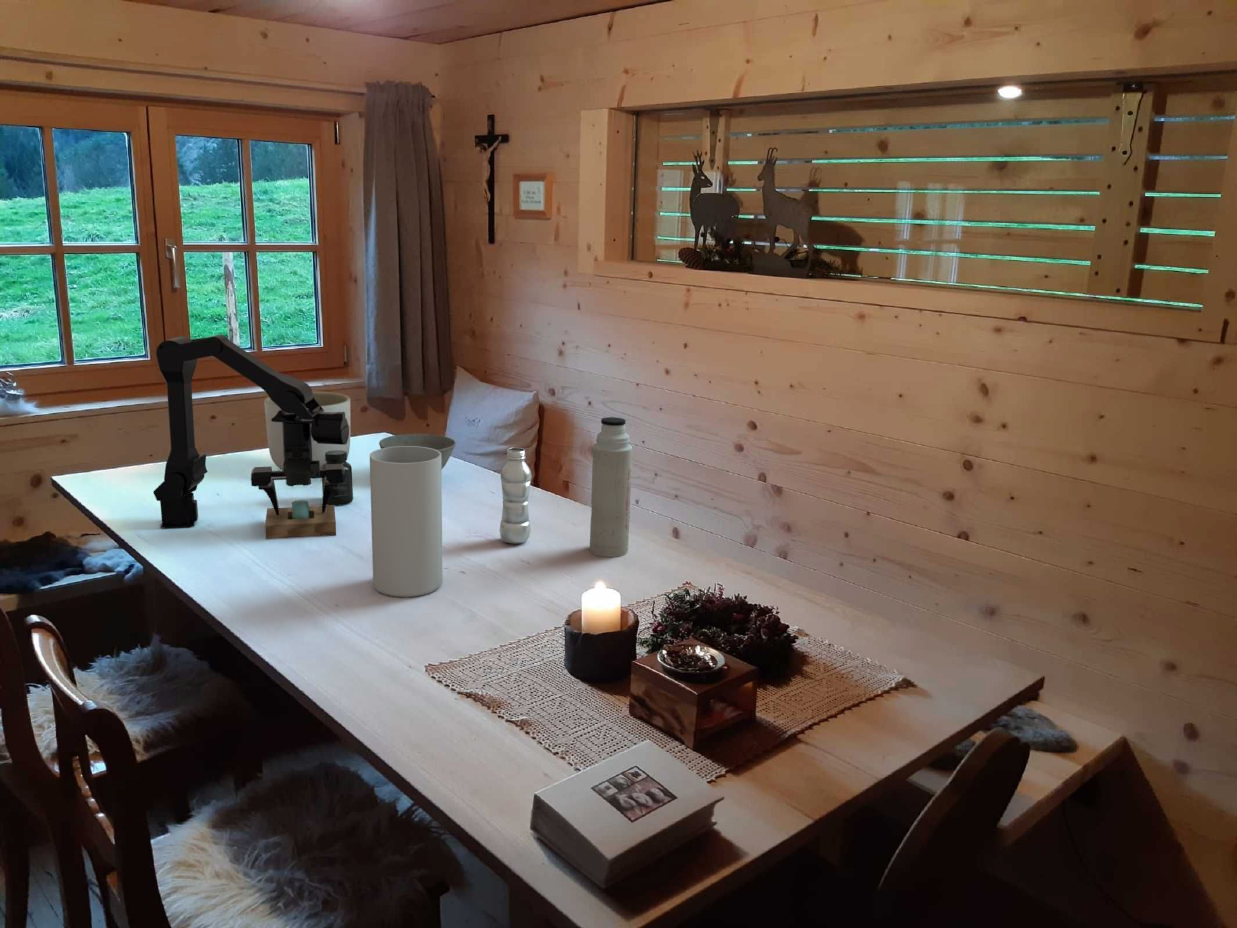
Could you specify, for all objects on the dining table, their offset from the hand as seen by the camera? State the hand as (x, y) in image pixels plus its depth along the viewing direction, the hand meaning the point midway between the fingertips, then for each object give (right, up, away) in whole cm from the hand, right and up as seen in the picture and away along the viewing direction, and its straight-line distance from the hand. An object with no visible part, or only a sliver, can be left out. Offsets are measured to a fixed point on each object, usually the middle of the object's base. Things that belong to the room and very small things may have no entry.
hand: (300, 513), depth 207 cm
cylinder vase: (+29, -12, -28) cm, 42 cm away
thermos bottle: (+66, -8, -5) cm, 66 cm away
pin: (0, -2, +1) cm, 3 cm away
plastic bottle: (+46, -6, -2) cm, 46 cm away
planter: (-12, +9, +45) cm, 47 cm away
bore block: (0, -3, +1) cm, 3 cm away
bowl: (+17, +6, +40) cm, 44 cm away
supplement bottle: (+2, +2, +20) cm, 20 cm away
